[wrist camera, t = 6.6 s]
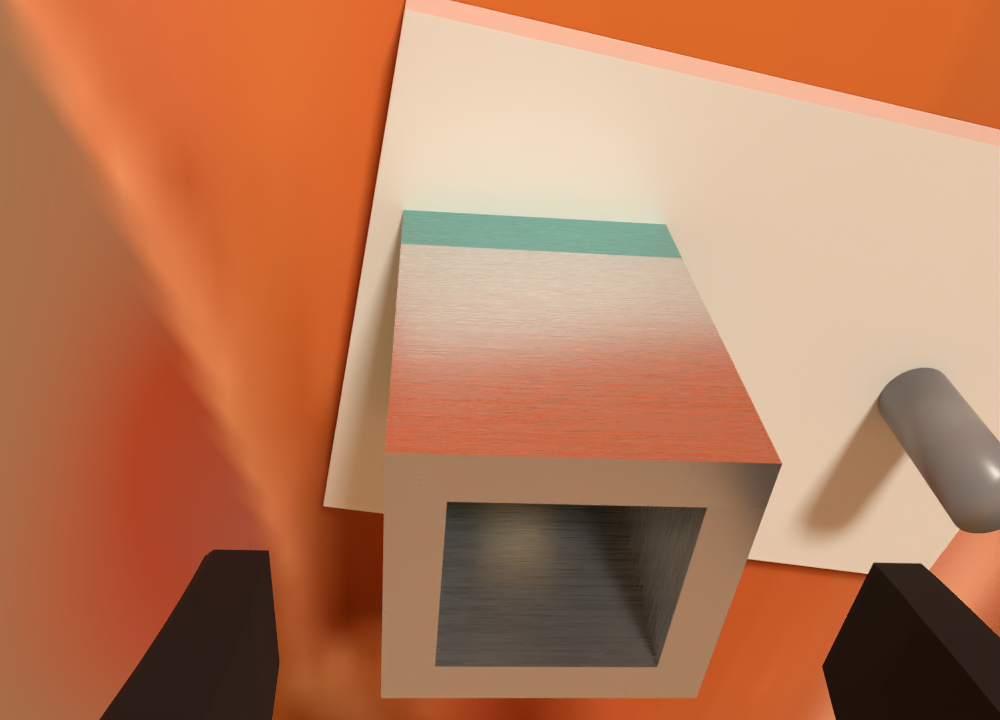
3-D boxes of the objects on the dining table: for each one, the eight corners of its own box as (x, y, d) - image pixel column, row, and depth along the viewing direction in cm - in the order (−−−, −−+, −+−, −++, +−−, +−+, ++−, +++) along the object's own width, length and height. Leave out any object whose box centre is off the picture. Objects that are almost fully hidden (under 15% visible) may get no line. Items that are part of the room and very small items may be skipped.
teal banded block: (665, 224, 14) (782, 463, 10) (621, 426, 17) (696, 698, 12) (403, 209, 14) (384, 451, 9) (397, 419, 17) (381, 697, 12)
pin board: (1163, 168, 16) (1365, 282, 12) (898, 542, 21) (987, 694, 18) (407, -10, 13) (396, 72, 10) (329, 467, 19) (304, 626, 15)
